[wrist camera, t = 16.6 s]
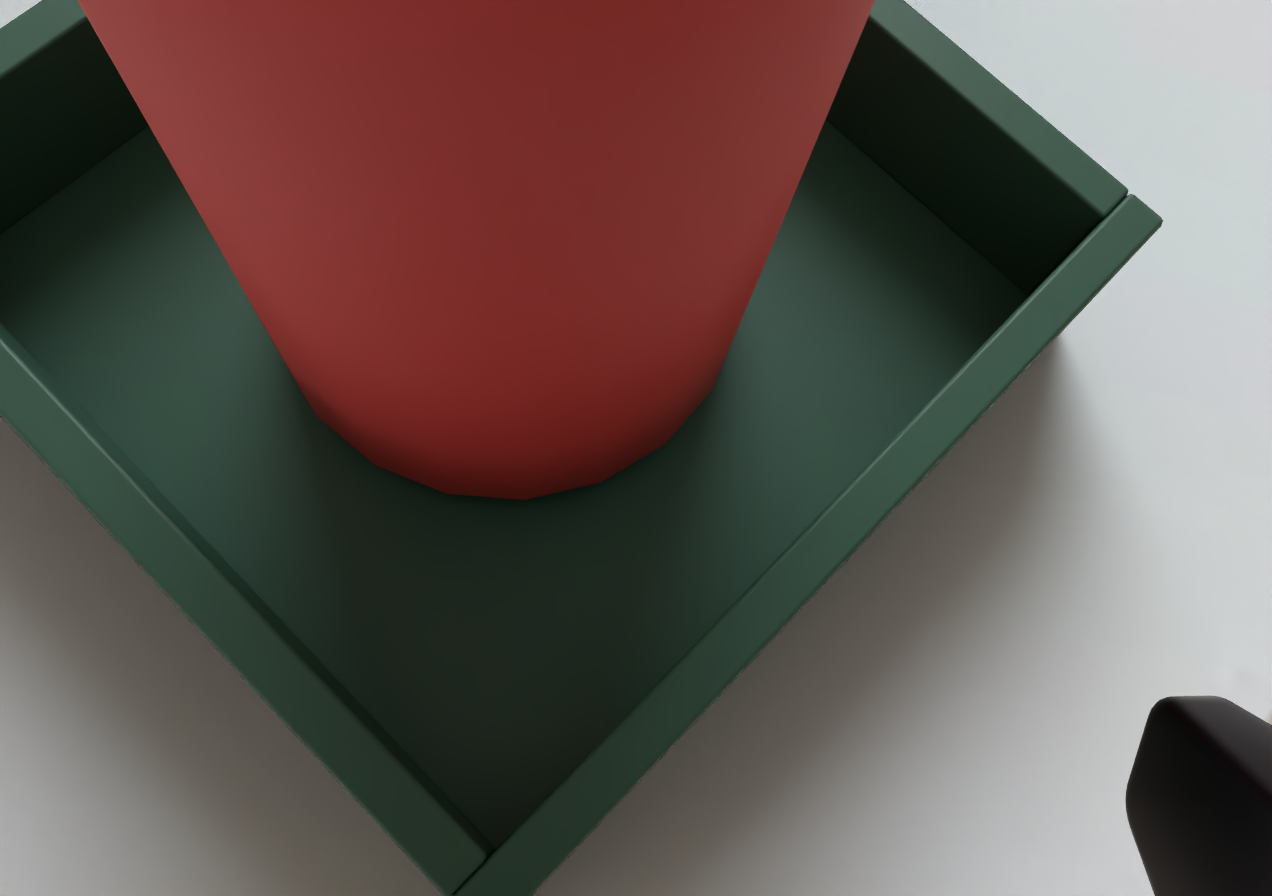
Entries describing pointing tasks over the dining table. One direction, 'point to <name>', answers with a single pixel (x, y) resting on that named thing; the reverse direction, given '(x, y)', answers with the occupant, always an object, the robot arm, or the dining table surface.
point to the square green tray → (551, 524)
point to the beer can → (491, 204)
